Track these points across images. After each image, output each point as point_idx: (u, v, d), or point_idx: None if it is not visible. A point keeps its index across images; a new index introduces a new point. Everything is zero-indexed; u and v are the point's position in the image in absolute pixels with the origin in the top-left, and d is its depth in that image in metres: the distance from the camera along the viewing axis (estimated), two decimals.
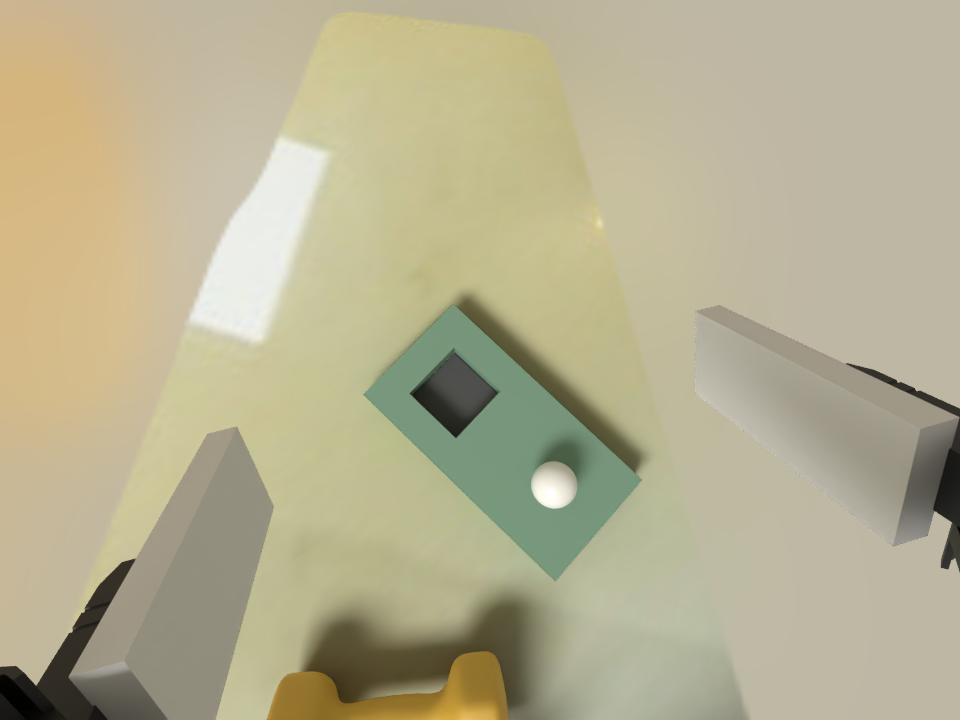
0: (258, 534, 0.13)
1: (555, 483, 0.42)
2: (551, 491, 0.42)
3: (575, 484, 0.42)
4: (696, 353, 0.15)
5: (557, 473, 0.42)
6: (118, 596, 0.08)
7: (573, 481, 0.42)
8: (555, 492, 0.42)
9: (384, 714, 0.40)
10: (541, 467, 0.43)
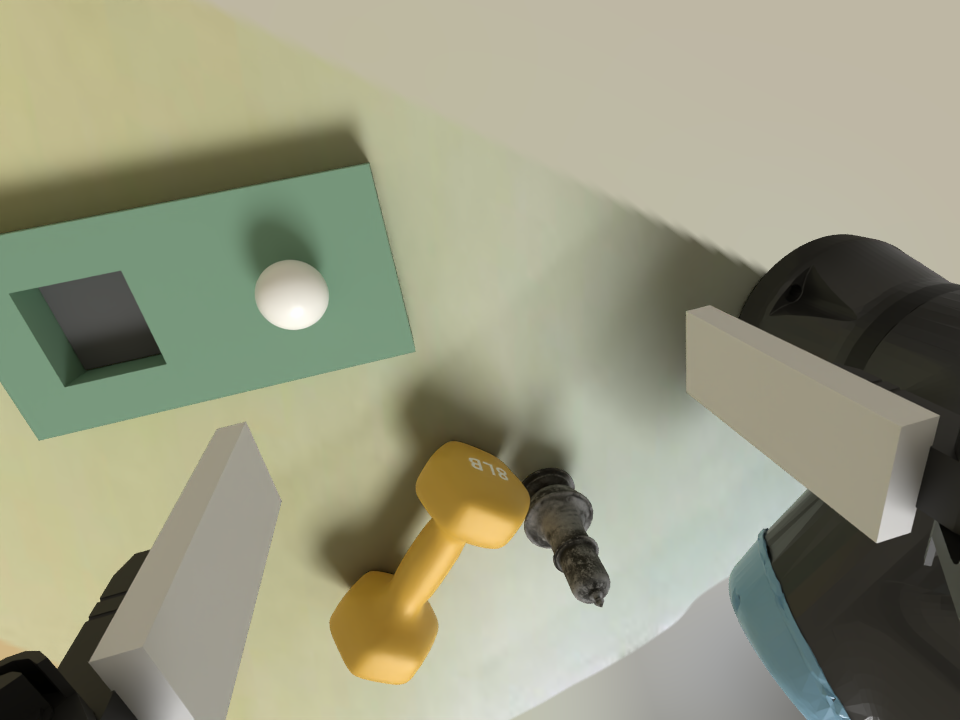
0: (266, 527, 0.13)
1: (280, 305, 0.27)
2: (289, 316, 0.27)
3: (302, 275, 0.27)
4: (687, 353, 0.15)
5: (270, 292, 0.27)
6: (134, 584, 0.08)
7: (295, 277, 0.27)
8: (293, 313, 0.27)
9: (413, 572, 0.38)
10: (255, 300, 0.28)
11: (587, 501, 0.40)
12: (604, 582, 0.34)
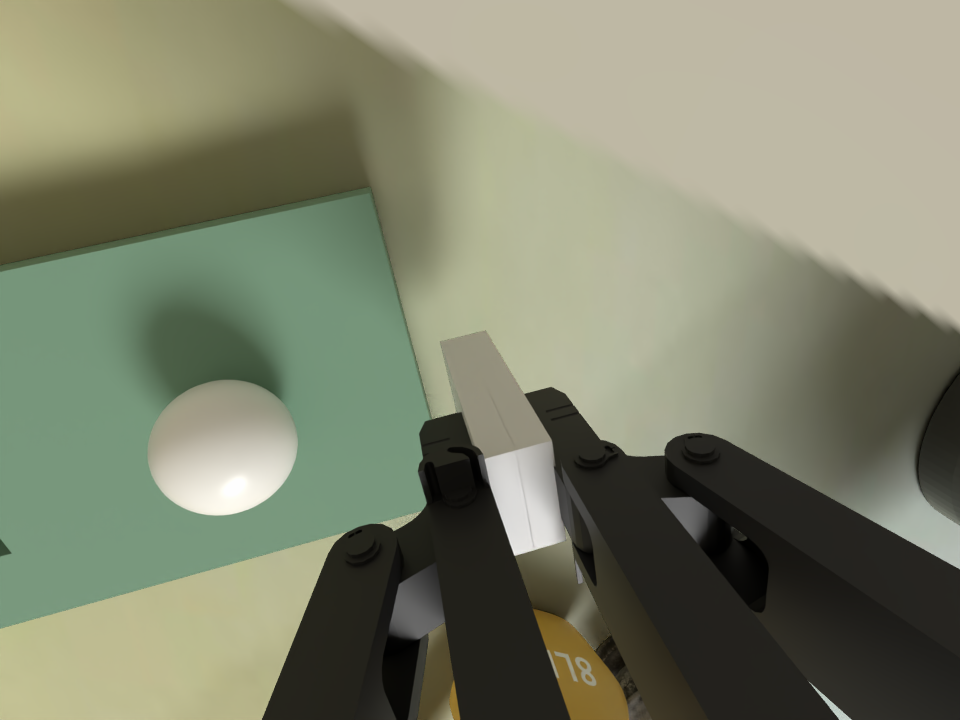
0: None
1: (193, 488, 0.13)
2: (213, 504, 0.14)
3: (239, 422, 0.14)
4: None
5: (170, 464, 0.13)
6: (470, 423, 0.11)
7: (224, 428, 0.13)
8: (220, 498, 0.14)
9: None
10: (150, 465, 0.14)
11: None
12: None
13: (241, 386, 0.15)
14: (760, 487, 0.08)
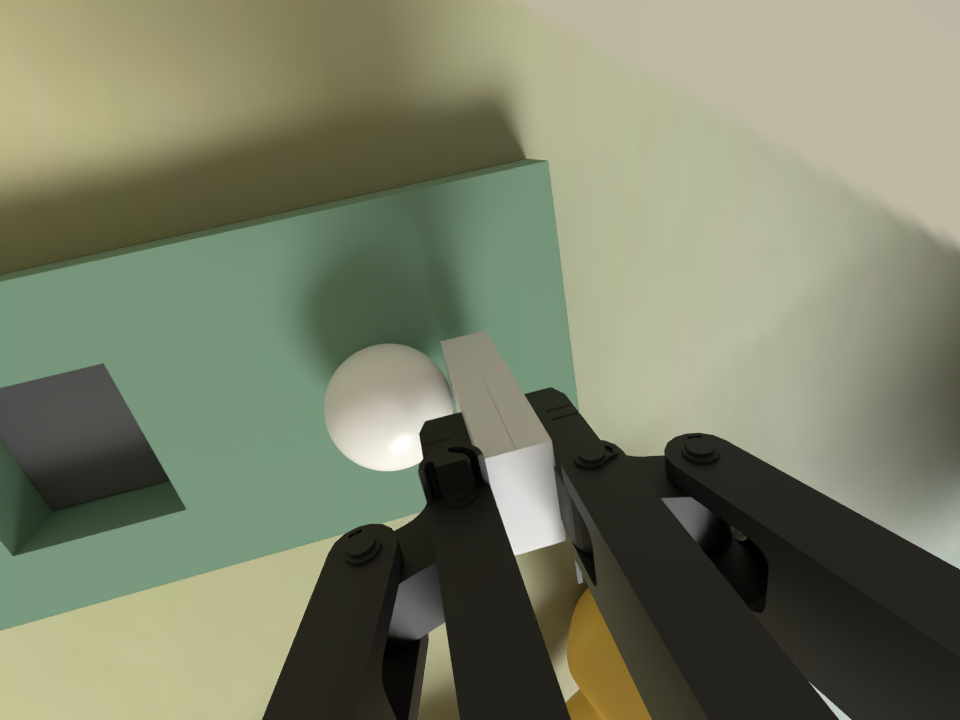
0: None
1: (358, 442, 0.14)
2: (372, 460, 0.14)
3: (403, 387, 0.14)
4: None
5: (341, 416, 0.14)
6: (470, 423, 0.11)
7: (389, 390, 0.14)
8: (379, 456, 0.14)
9: None
10: (325, 414, 0.16)
11: None
12: None
13: (408, 352, 0.15)
14: (760, 487, 0.08)
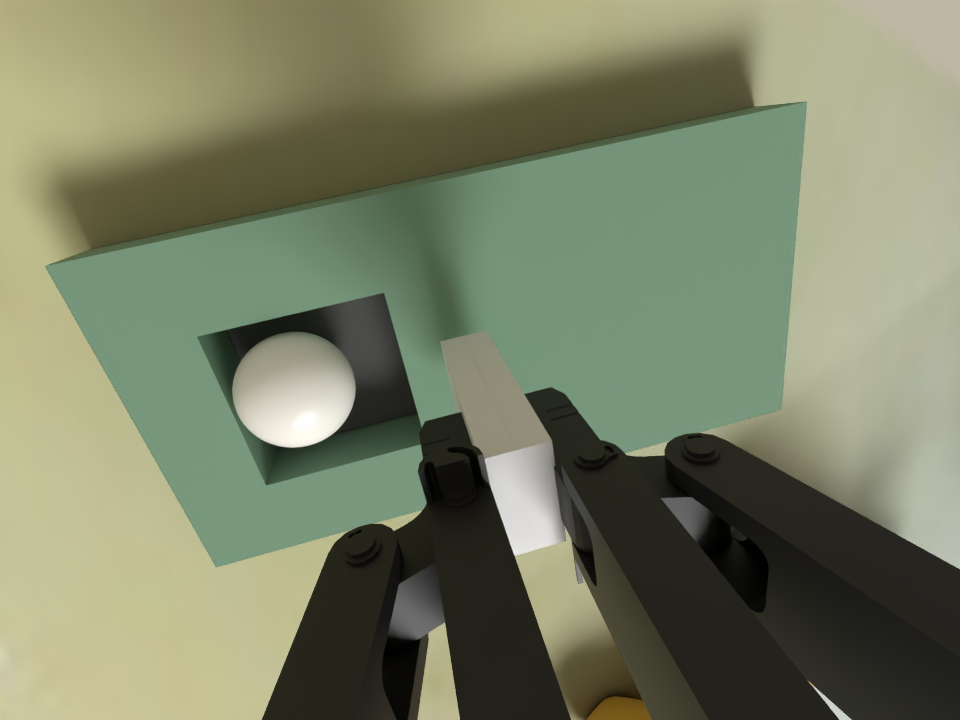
0: None
1: (251, 420, 0.16)
2: (266, 437, 0.16)
3: (289, 374, 0.16)
4: None
5: (238, 397, 0.16)
6: (470, 423, 0.11)
7: (276, 377, 0.15)
8: (270, 434, 0.16)
9: None
10: None
11: None
12: None
13: (305, 341, 0.16)
14: (759, 487, 0.08)
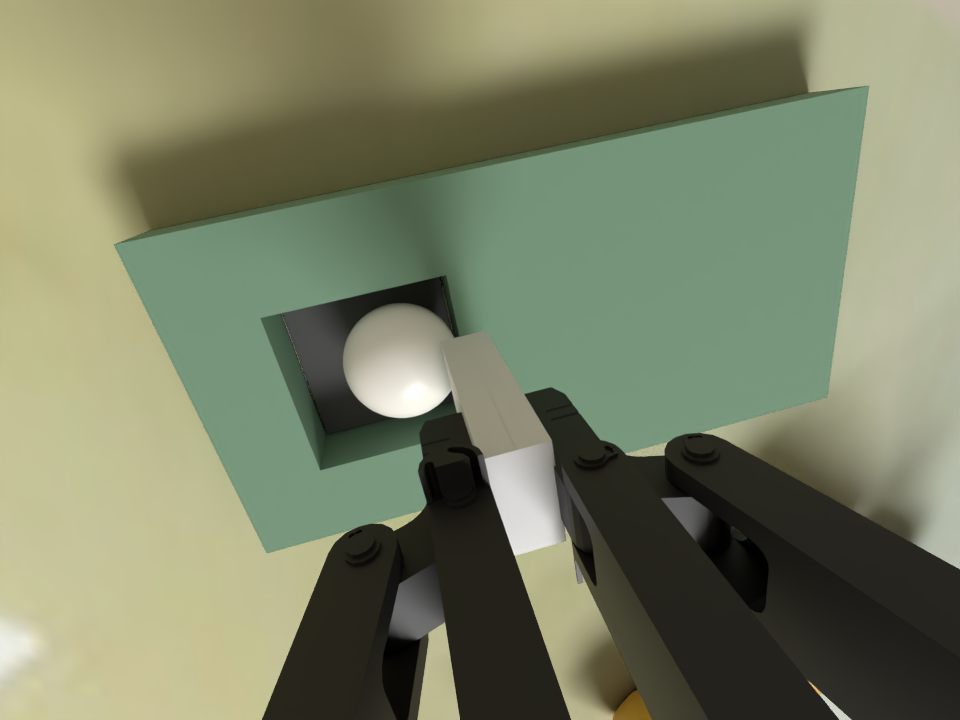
0: None
1: (417, 381, 0.16)
2: (427, 396, 0.16)
3: (436, 325, 0.16)
4: None
5: (397, 362, 0.15)
6: (470, 423, 0.11)
7: (430, 329, 0.16)
8: (434, 389, 0.16)
9: None
10: (354, 380, 0.16)
11: None
12: None
13: None
14: (760, 487, 0.08)
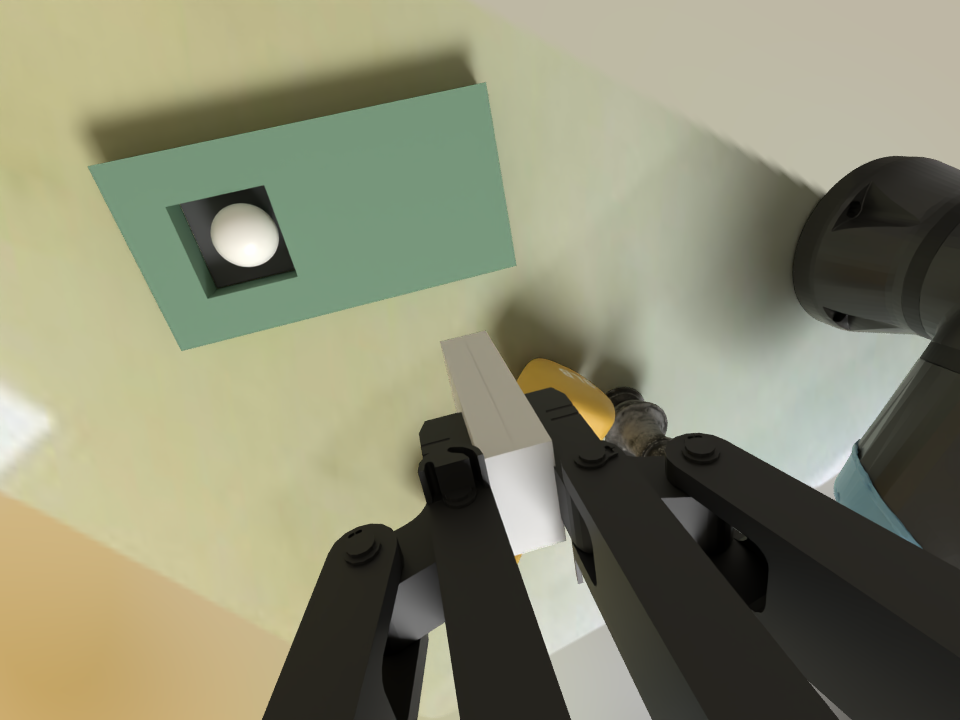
0: None
1: (242, 240, 0.31)
2: (250, 250, 0.31)
3: (257, 213, 0.31)
4: None
5: (231, 229, 0.30)
6: (470, 423, 0.11)
7: (251, 214, 0.31)
8: (254, 246, 0.31)
9: None
10: (213, 241, 0.31)
11: (663, 413, 0.44)
12: None
13: (250, 204, 0.32)
14: (760, 487, 0.08)
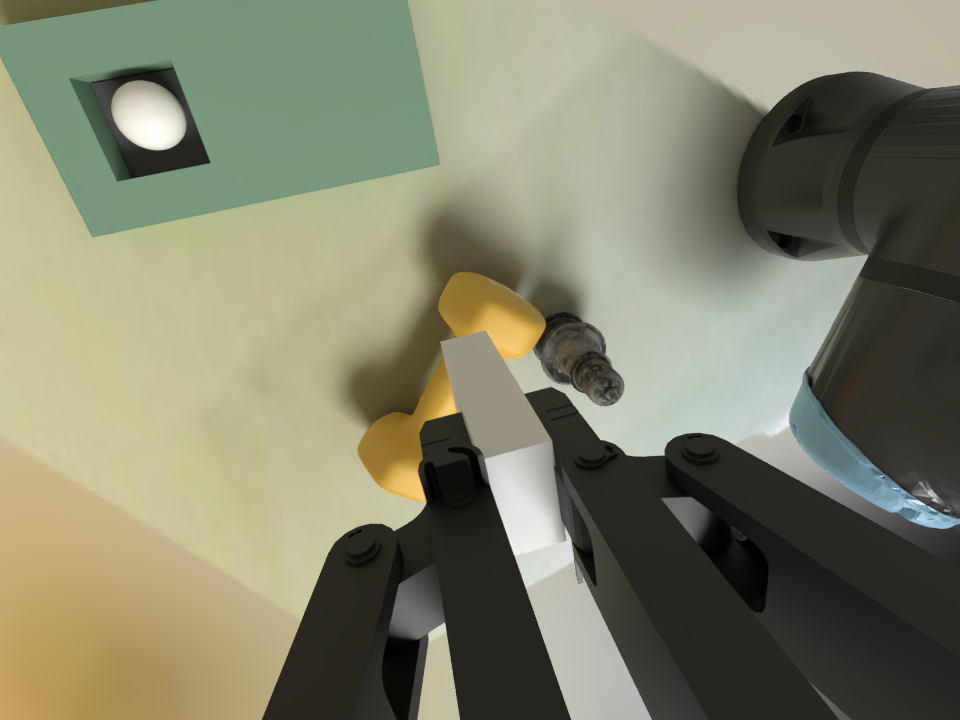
0: None
1: (136, 115, 0.30)
2: (145, 127, 0.30)
3: (155, 90, 0.31)
4: None
5: (124, 102, 0.30)
6: (470, 423, 0.11)
7: (148, 89, 0.30)
8: (149, 123, 0.30)
9: (436, 392, 0.40)
10: None
11: (600, 334, 0.43)
12: (619, 382, 0.36)
13: (155, 83, 0.31)
14: (760, 487, 0.08)
